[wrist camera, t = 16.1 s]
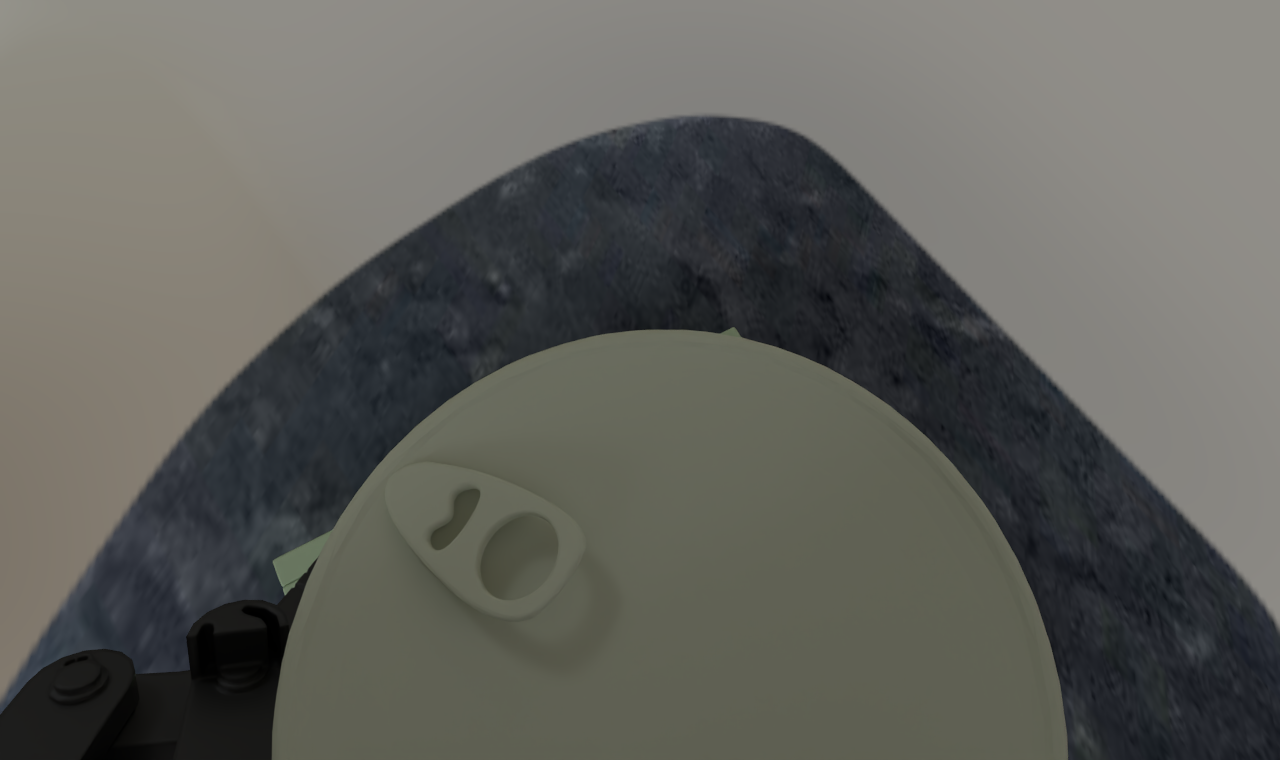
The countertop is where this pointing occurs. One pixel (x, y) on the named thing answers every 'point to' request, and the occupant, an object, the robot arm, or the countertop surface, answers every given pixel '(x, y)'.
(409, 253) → the countertop surface
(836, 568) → the can
